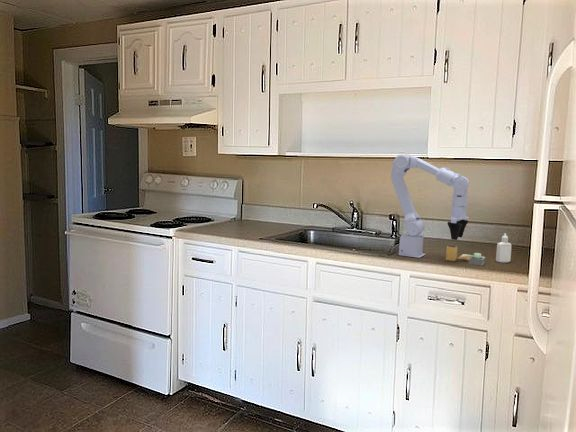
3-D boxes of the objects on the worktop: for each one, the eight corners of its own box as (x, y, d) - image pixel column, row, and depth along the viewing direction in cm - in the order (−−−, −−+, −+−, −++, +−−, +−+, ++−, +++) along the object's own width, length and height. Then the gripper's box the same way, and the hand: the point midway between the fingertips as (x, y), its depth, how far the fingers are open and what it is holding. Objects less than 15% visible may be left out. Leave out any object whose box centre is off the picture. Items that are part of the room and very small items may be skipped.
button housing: (469, 263, 194) (469, 258, 193) (472, 261, 198) (472, 255, 197) (482, 265, 191) (482, 259, 191) (484, 263, 195) (485, 257, 195)
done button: (472, 260, 194) (473, 253, 193) (474, 259, 196) (474, 252, 196) (479, 261, 192) (480, 254, 192) (481, 260, 195) (482, 253, 194)
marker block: (445, 259, 200) (446, 244, 200) (448, 258, 203) (449, 243, 202) (454, 261, 199) (455, 245, 198) (456, 259, 201) (457, 244, 201)
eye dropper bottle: (510, 263, 196) (513, 234, 194) (496, 262, 197) (498, 233, 196) (509, 261, 200) (512, 233, 198) (495, 260, 202) (497, 232, 200)
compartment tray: (456, 259, 201) (456, 257, 201) (462, 255, 209) (462, 253, 209) (480, 262, 196) (480, 260, 196) (485, 258, 204) (485, 256, 204)
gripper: (464, 208, 188) (462, 242, 190) (473, 205, 200) (471, 237, 202) (446, 206, 192) (444, 239, 194) (456, 203, 204) (454, 234, 206)
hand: (456, 238), depth 198 cm, fingers open, 7 cm apart
